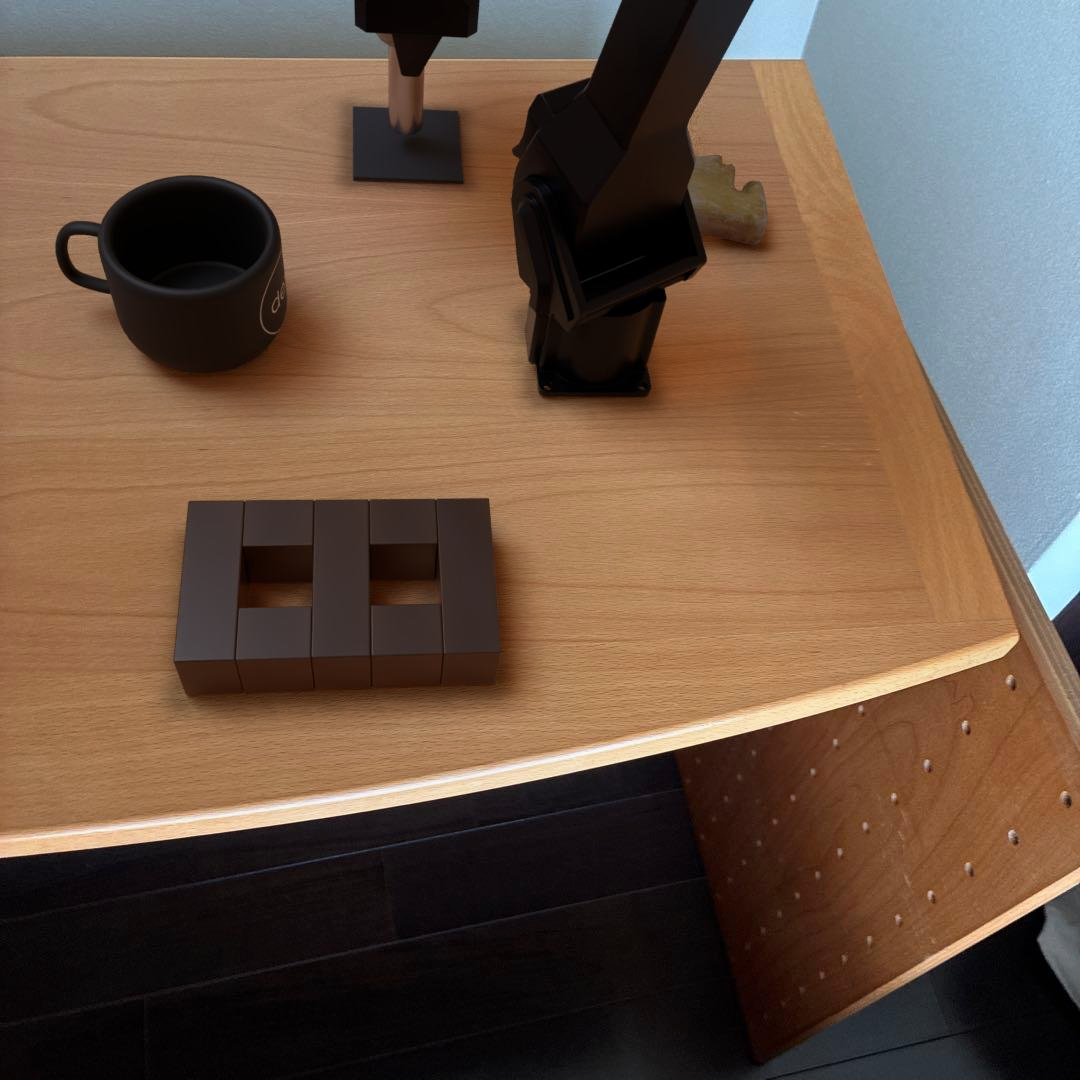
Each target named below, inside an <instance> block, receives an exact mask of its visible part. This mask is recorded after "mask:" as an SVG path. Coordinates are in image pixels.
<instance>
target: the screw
mask: <svg viewBox="0 0 1080 1080" xmlns="http://www.w3.org/2000/svg"><path fill="white" fill-rule="evenodd" d="M375 34H376V36H377V38H378V39H379V40H380V41H381V42H383V43H384V44H386V45H387V46H388V49H387V51H388V60H387V62H388V63H387V64H388V68H387V70H388V71H387V73H388V75H387V77H388V82H387V83H388V85H387V88H388V89H387V98H388V99H387V100H388V101H387V103H388V104H387V106H388V107H387V108H388V124H389V127H390V128H391V130H392V131H394V132H395V133H398V134H401V135H413V134H416V133H418V132H419V131H420V130H421V129H422V127H423V109H424V102H425V75H426V72H425V71H426V70H425V69H426V67H425V68H424V69H423V71H422V73H421V75H420V76H418V77H406V76H402V75H401V72H400V68H399V64H398V60H397V56H396V51H395V47H394V43H393V39H392V34H382V33H375Z"/></svg>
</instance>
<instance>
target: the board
mask: <svg viewBox="0 0 1080 1080" xmlns="http://www.w3.org/2000/svg"><path fill="white" fill-rule="evenodd" d="M186 509H187V510H186V521H185V531H184V542H183V551H182V553H183V554H182V562H181V563H182V564H181V572H180V573H181V575H180V584H179V595H178V604H177V605H178V606H177V616H176V617H177V618H176V628H175V639H174V649H173V660H172V661H173V664H174V667H175V669H176V672H177V675H178V677H179V680H180V683H181V686H182V689H183V691H184V694H185V695H186V696H188V695H189V696H193V695H194V696H195V695H221V694H223V695H224V694H225V695H226V694H243V693H244V694H260V693H263V694H265V693H289V692H314V691H339V690H342V691H343V690H368V689H397V688H398V689H399V688H426V687H427V688H429V687H463V686H491V685H496V681H497V676H498V671H499V666H500V661H501V656H502V641H501V627H500V614H499V603H498V602H499V601H498V589H497V579H496V565H495V554H494V553H495V552H494V541H493V540H494V539H493V529H492V516H491V515H492V514H491V503H490V498H489V497H465V498H464V497H453V498H452V497H451V498H450V497H449V498H448V497H447V498H446V497H443V498H371V499H368V498H365V499H364V498H360V499H359V498H357V499H356V498H354V499H351V498H350V499H348V498H347V499H344V498H343V499H246V500H242V499H239V500H237V499H236V500H233V499H232V500H231V499H230V500H189V501H188V502H187V508H186ZM434 580H435V597H436V598H435V600H436V602H435V603H409V604H407V603H405V604H401V603H399V604H371V603H372V602H371V601H372V600H371V599H372V598H371V595H372V594H371V593H372V592H371V586H372V585H371V582H391V581H392V582H393V581H394V582H395V581H398V582H399V581H434ZM295 583H296V584H300V583H311V605H305V606H302V605H301V606H300V605H299V606H263V607H261V606H259V607H258V606H256V607H254V606H253V607H249V605H250V604H249V603H250V587H251V584H252V585H253V584H295Z"/></svg>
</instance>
